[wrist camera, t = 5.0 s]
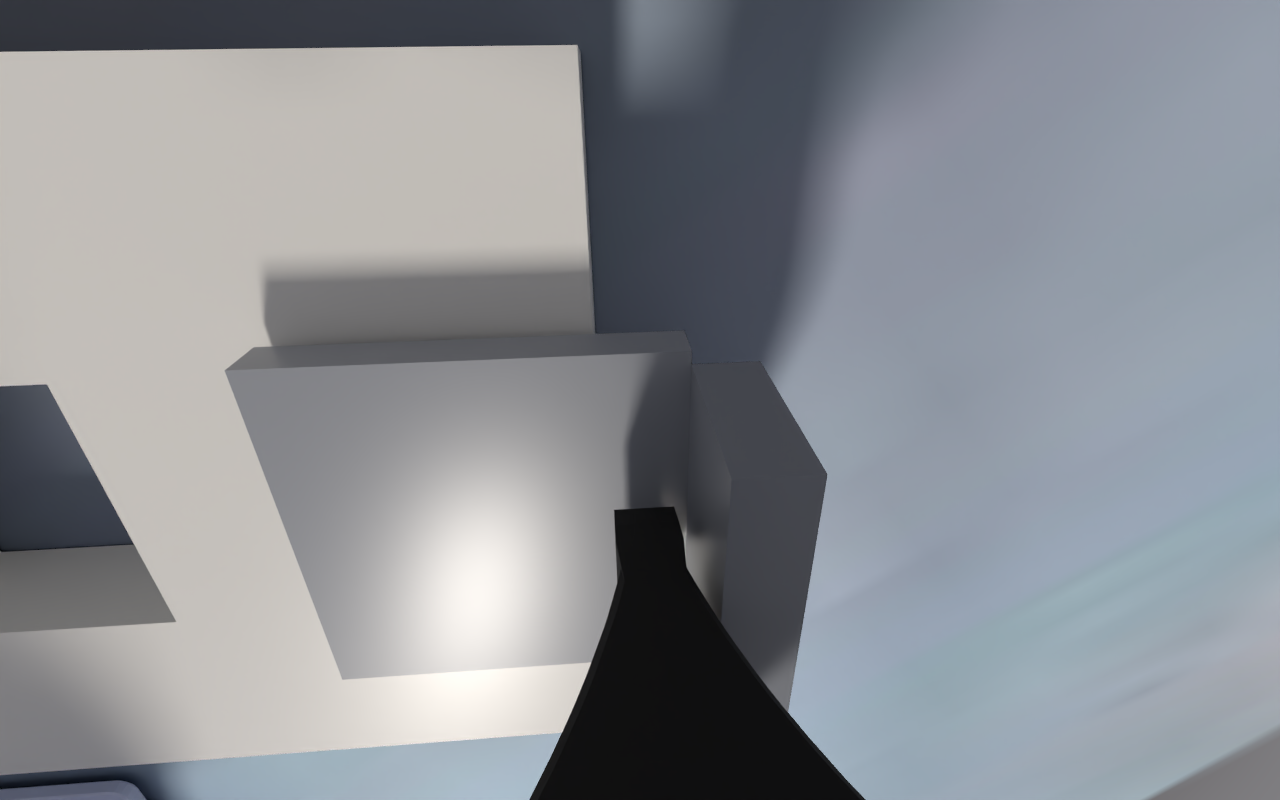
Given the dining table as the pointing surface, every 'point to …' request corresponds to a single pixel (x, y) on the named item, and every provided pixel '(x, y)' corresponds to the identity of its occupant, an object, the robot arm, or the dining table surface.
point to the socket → (225, 331)
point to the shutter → (527, 492)
